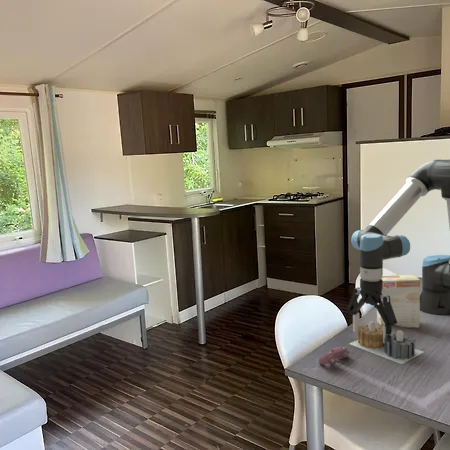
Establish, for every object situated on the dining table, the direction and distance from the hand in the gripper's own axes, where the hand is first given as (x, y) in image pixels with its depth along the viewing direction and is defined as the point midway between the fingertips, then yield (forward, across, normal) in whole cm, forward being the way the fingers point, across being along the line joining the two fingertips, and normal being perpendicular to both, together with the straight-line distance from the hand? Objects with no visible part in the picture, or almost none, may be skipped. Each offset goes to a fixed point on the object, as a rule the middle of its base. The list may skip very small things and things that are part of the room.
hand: (370, 336), depth 163 cm
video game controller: (+4, 0, -19) cm, 20 cm away
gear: (+2, +12, 0) cm, 12 cm away
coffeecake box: (+4, -5, +24) cm, 25 cm away
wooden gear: (+2, +1, 0) cm, 2 cm away
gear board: (+4, +6, 0) cm, 7 cm away
